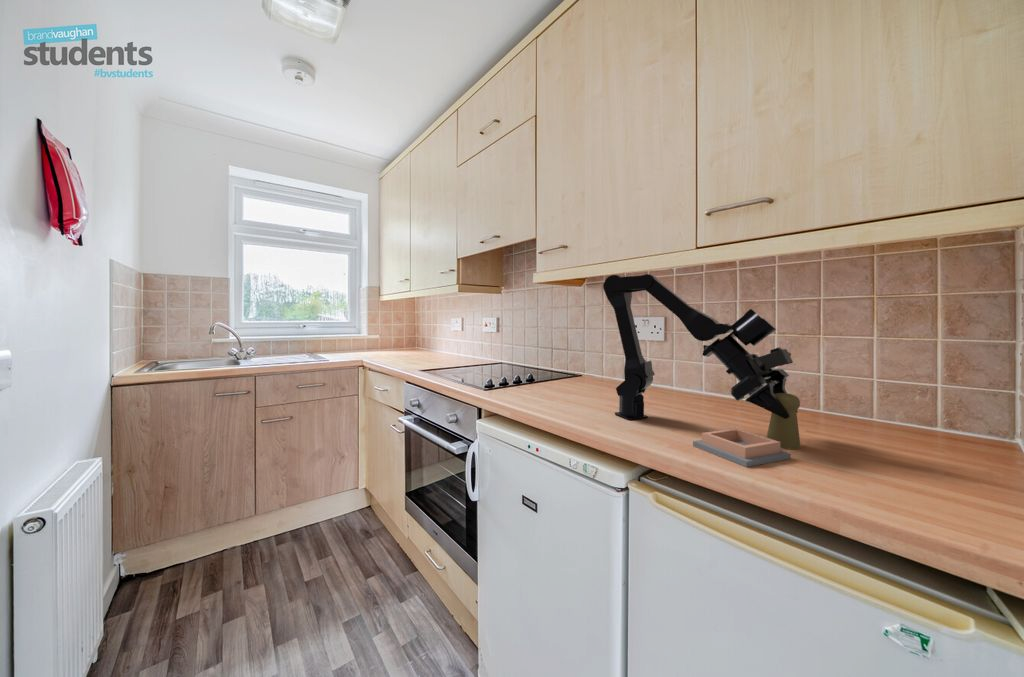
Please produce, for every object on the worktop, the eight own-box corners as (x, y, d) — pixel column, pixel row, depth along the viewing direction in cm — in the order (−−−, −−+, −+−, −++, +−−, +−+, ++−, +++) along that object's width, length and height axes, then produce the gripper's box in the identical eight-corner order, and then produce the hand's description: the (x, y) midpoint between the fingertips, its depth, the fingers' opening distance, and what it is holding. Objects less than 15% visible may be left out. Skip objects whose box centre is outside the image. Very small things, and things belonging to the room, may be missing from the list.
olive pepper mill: (759, 439, 82) (761, 391, 81) (787, 439, 82) (789, 391, 81) (778, 449, 76) (780, 396, 75) (808, 449, 76) (810, 396, 75)
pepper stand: (692, 445, 78) (693, 431, 78) (733, 439, 82) (734, 426, 82) (746, 467, 67) (746, 450, 67) (790, 458, 71) (791, 443, 71)
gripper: (749, 336, 75) (815, 399, 67) (779, 334, 87) (839, 387, 79) (708, 370, 82) (764, 431, 74) (741, 364, 93) (792, 416, 85)
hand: (792, 415), depth 78 cm, fingers closed on olive pepper mill, 5 cm apart
